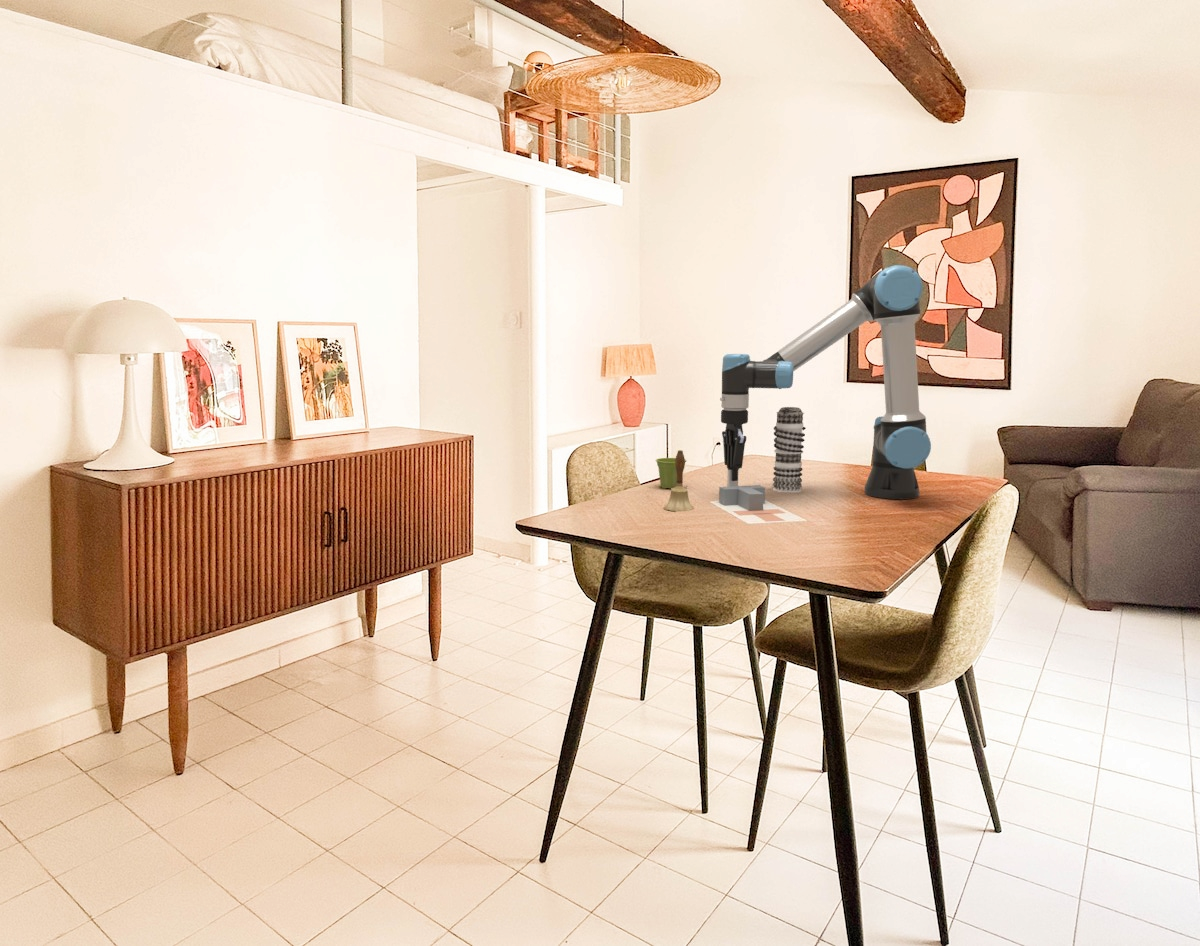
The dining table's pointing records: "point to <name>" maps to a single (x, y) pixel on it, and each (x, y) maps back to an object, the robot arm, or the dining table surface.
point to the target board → (760, 513)
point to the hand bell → (679, 489)
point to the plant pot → (667, 472)
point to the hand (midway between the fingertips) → (732, 491)
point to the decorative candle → (788, 450)
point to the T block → (743, 496)
